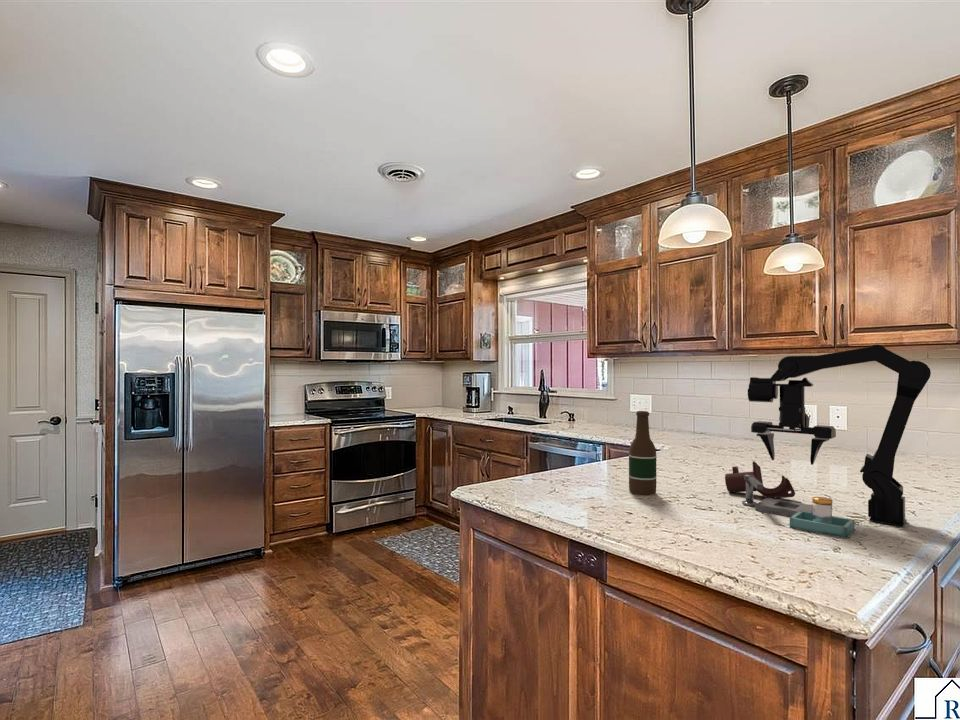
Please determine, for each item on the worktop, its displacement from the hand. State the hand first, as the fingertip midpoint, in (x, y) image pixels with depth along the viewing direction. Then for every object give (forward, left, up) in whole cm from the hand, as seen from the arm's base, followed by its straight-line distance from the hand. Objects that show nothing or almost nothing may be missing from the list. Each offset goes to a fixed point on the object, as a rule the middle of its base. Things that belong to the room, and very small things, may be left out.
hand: (792, 462), depth 140 cm
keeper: (+7, +9, -5) cm, 13 cm away
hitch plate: (+2, +5, -12) cm, 13 cm away
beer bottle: (+36, +13, -12) cm, 40 cm away
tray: (-10, +16, -12) cm, 22 cm away
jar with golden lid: (-10, +16, -11) cm, 22 cm away
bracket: (+10, -8, -12) cm, 18 cm away
